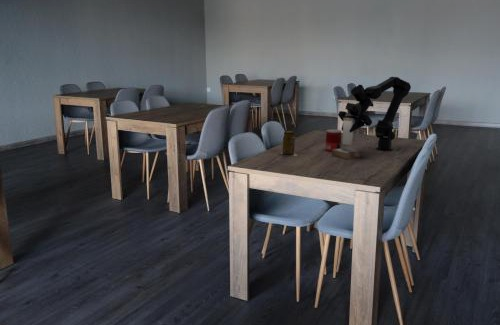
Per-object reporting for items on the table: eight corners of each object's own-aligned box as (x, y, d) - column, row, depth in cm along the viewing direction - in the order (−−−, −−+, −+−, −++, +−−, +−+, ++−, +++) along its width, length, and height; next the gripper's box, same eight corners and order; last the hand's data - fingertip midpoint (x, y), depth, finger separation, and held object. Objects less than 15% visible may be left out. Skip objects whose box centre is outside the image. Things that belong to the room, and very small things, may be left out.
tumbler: (350, 142, 237) (352, 117, 234) (353, 144, 232) (355, 118, 229) (340, 142, 237) (342, 117, 233) (343, 144, 232) (344, 119, 228)
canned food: (340, 152, 245) (341, 132, 242) (325, 151, 247) (326, 131, 244) (340, 149, 252) (341, 129, 250) (325, 148, 254) (326, 129, 251)
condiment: (291, 152, 244) (292, 130, 241) (298, 155, 236) (299, 132, 233) (279, 153, 242) (279, 130, 239) (285, 156, 234) (286, 133, 231)
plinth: (345, 153, 243) (345, 147, 242) (359, 156, 235) (360, 150, 234) (331, 155, 237) (332, 149, 237) (346, 159, 230) (346, 153, 229)
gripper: (341, 95, 238) (325, 118, 234) (369, 98, 223) (353, 123, 220) (350, 109, 245) (335, 132, 241) (379, 113, 230) (363, 137, 226)
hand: (346, 131), depth 232 cm, fingers closed on tumbler, 5 cm apart
